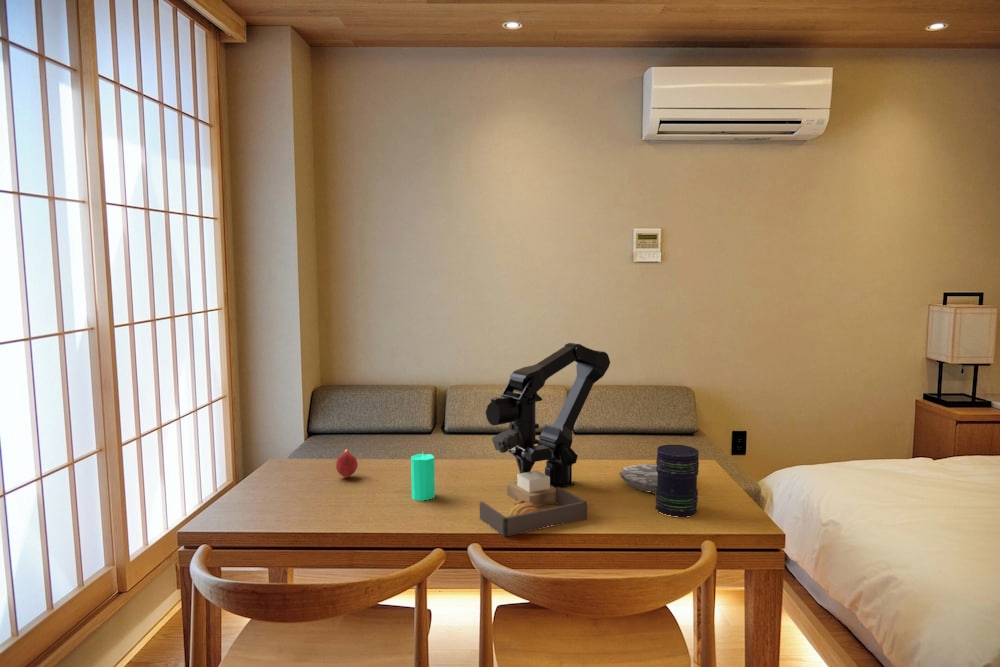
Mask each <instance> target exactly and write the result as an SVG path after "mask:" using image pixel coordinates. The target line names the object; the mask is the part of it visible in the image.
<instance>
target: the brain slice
mask: <svg viewBox="0 0 1000 667" xmlns="http://www.w3.org/2000/svg"><path fill="white" fill-rule="evenodd" d="M656 467H657V464H656V463H651V464H650V463H646V464H645V463H643V464H634V465H628V466H627V465H626V466H624V467H622V468H621V469H622V471H620V473H619V476H620V478H621V479H622V480H624V482H626V483H627V482H628V483H627V484H628V485H629V486H630V487H632V486H633V487H632V488H634V489H635V488H637V489H639V490H642V491H641V492H643V491H651V492H654V493H656V486H657V476H658V473H657V471H656V470H657V469H656ZM637 489H636V490H637ZM639 490H638V491H639ZM651 492H650V493H651Z"/></svg>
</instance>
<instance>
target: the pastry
mask: <svg viewBox="0 0 1000 667" xmlns="http://www.w3.org/2000/svg"><path fill="white" fill-rule="evenodd" d="M539 510H540V508H539V507H537V506H536V505H535V504H533V503H529V502H528V501H526V500H519V501H517V500H516V502H513V503H512V504H511V506H510V508H509V510H508V513H509V517H510V516H515V515H520V514H525V513H530V512H534V511H539Z"/></svg>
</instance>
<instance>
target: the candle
mask: <svg viewBox="0 0 1000 667" xmlns="http://www.w3.org/2000/svg"><path fill="white" fill-rule="evenodd" d="M421 452H422V453H417V454H414V455H412V456H411V457H410V467H411V472H410V473H411V476H410V478H411V499H413V500H414V501H418V500H419V501H418V502H421V501H422V502H424V500H427V501H430V500H429V499H431V500H433V499H435V498H436V482H435V481H436V480H435V479H436V478H435V477H436V474H435V473H436V471H435V470H436V468H435V466H436V465H435V464H436V463H435V456H434V455H433V454H431V453H430V454H427V453H426V454H425V453H424V450H421ZM434 497H435V498H434ZM432 498H433V499H432Z"/></svg>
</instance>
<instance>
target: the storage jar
mask: <svg viewBox="0 0 1000 667" xmlns="http://www.w3.org/2000/svg"><path fill="white" fill-rule="evenodd" d="M656 451H657V452H656V453H657V455H656V460H655V461H656V463H655V464H657V467H656V469H657V470H656V471H657V473H658V476H657V486H656V494H655V504H656V505H655V510H656V509H657V510H658V511H659V512H661V513H663V514H666V515H671V516H678V517H687V516H692V515H695V514H696V513H698V510H697V508H698V501H699V499H698V498H699V497H698V495H699V490H698V489H697V483H698V475H699V472H700V471H699V467H700V466H699V465H700V461H699V454H700V453H699V452H700V451H699V449H697V448H696V447H693V446H690V445H689V446H688V445H683V444H664V445H660V446H658V447H657V448H656ZM696 515H697V514H696ZM696 515H695V516H696ZM692 517H693V516H692Z"/></svg>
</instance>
